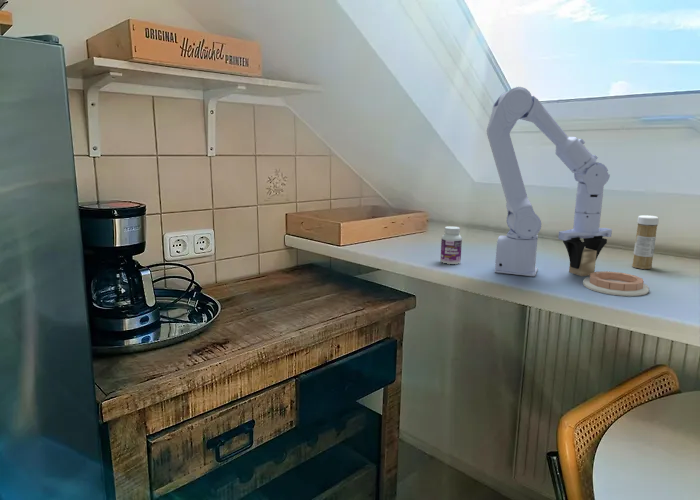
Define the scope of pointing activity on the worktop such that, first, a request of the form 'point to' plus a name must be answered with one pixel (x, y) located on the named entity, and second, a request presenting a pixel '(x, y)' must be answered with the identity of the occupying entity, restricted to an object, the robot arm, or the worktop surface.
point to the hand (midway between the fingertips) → (582, 267)
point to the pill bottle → (451, 245)
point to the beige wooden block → (585, 263)
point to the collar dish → (616, 284)
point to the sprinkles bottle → (645, 241)
